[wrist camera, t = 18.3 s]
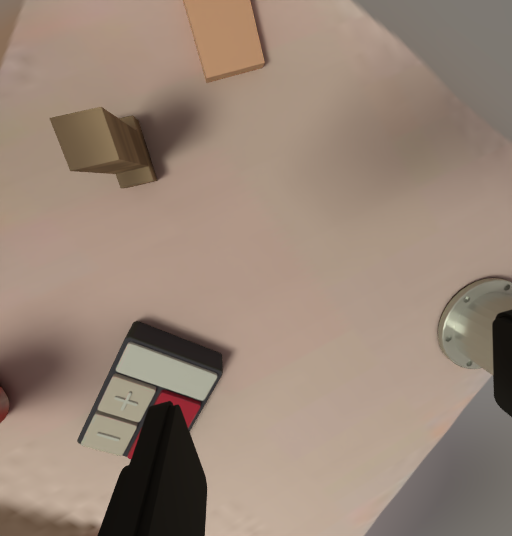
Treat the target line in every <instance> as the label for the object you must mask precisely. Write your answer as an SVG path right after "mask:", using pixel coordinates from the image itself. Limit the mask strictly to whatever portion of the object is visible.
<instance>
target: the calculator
mask: <svg viewBox="0 0 512 536" xmlns="http://www.w3.org/2000/svg"><path fill="white" fill-rule="evenodd" d="M222 372H223V371H222V354H220V353H218V352H216V351H213V350H211V349H208V348H205V347H203V346H200V345H198V344H195V343H193V342H190V341H187V340H185V339H182V338H180V337H177V336H174V335H172V334H169V333H167V332H164V331H162V330H159V329H156V328H154V327H151V326H149V325H146V324H143V323H141V322H138V321H136V322H134V323H133V324H132V326H131V328H130V330H129V332H128V334H127V336H126V338H125V340H124V342H123V344H122V346H121V348H120V350H119V352H118V354H117V357H116V359H115V361H114V363H113V365H112V367H111V369H110V371H109V374H108V376H107V378H106V380H105V382H104V384H103V386H102V389H101V391H100V393H99V395H98V397H97V399H96V401H95V403H94V406H93V408H92V410H91V412H90V414H89V416H88V418H87V420H86V423H85V425H84V427H83V429H82V431H81V433H80V435H79V438H78V443H80V444H81V445H82V446H84V447H88V448H92V449H95V450H99V451H103V452H106V453H110V454H114V455H117V456H122V455H123V456H126V457H128V458H129V459H131V458H132V455H133V452H134V449H135V447H136V444H137V441H138V438H139V435H140V432H141V429H142V426H143V423H144V420H145V417H146V414H147V411H148V409H149V407H150V406H152V405H156V404H160V403H164V402H167V401H171V402H172V403H173V405H177V404H178V405H179V406H180V408H181V410H182V413H183V416H184V418H185V421H186V424H187V427H188V429H189V431H190V429H191V428H192V426H193V424H194V423H195V421H196V419H197V417H198V416H199V414H200V412H201V410H202V409H203V407H204V405H205V403H206V402H207V400H208V398H209V396H210V395H211V393H212V391H213V389H214V388H215V386H216V384H217V383H218V381H219V379H220V377H221V376H222Z"/></svg>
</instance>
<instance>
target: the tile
mask: <svg viewBox="0 0 512 536" xmlns="http://www.w3.org/2000/svg"><path fill="white" fill-rule="evenodd" d="M183 2H184V6H185V9H186V13H187V16H188V20H189V23H190V27H191V30H192V34H193V37H194V41H195V44H196V48H197V51H198V55H199V58H200V62H201V65H202V69H203V72H204V76H205V79H206V83H209V82H212V81H216V80H220V79H223V78H227V77H231V76H234V75H238V74H242V73H246V72H249V71H253V70H257V69H260V68H262V67H263V65H264V63H265V62H264V57H263V53H262V49H261V44H260V40H259V36H258V31H257V27H256V23H255V19H254V14H253V10H252V6H251V1H250V0H183Z"/></svg>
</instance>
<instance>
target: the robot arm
mask: <svg viewBox="0 0 512 536" xmlns="http://www.w3.org/2000/svg"><path fill="white" fill-rule="evenodd" d="M438 341H439V345H440V348H441V350H442V352H443V353H444V354H445V356H446V357H447V358H448V359H450V360H451V361H452V362H454V363H455V364H457V365H459V366H461V367H464V368H468V369H479V368H483V369H484V370H486V371H487V372H489V373H490V374H492V375H493V377H494V398H495V400H496V402H497V404H498V405H499V406H500V408H502V409H503V410H504V411H505V412H506V413H508V414H509V415H510V416H511V417H512V282H510V281H507V280H504V279H499V278H488V279H483V280H480V281H476V282H474V283H472V284H470V285H468V286H467V287H465V288H464V289H462V290H461V291H460V292H459V293H458V294H457V295H456V296H454V297H453V299H452V300H451V301H450V302H449V304H448V305H447V307H446V308H445V310H444V312H443V314H442V316H441V319H440V322H439V327H438ZM206 501H207V483H206V477H205V474H204V471H203V468H202V466H201V463H200V460H199V457H198V454H197V452H196V449H195V446H194V443H193V441H192V438H191V435H190V432H189V429H188V427H187V424H186V421H185V418H184V416H183V413H182V410H181V408H180V406H179V405H178V404H177V405H173V403H172V402H171V401H167V402H164V403H160V404H156V405H152V406H150V407H149V409H148V411H147V414H146V417H145V420H144V423H143V426H142V429H141V432H140V435H139V438H138V441H137V444H136V447H135V449H134V452H133V455H132V458H131V461H130V464H129V465H128V466H125V467H124V468H123V469H122V471H121V473H120V475H119V478H118V481H117V483H116V486H115V489H114V492H113V494H112V497H111V500H110V503H109V506H108V508H107V511H106V514H105V517H104V519H103V522H102V525H101V528H100V531H99V533H98V536H205V520H206Z"/></svg>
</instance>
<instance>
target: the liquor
mask: <svg viewBox="0 0 512 536" xmlns="http://www.w3.org/2000/svg"><path fill="white" fill-rule="evenodd" d="M8 411H9V401H8V397H7V395H6V393H5V392H4V390H3V389H2V388H1V387H0V423H1V422H2V421H3V420H4V419H5V417H6V416H7V414H8Z"/></svg>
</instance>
